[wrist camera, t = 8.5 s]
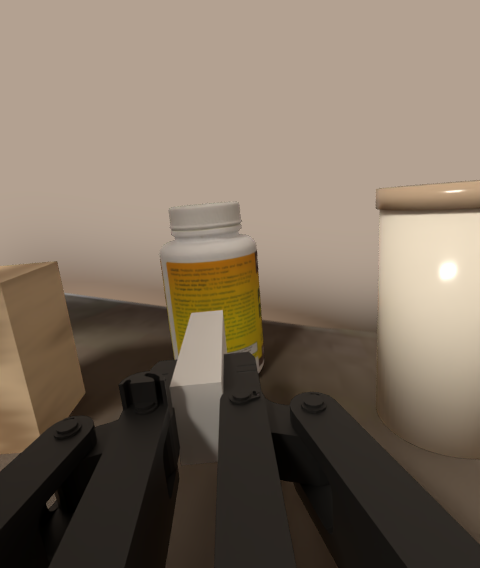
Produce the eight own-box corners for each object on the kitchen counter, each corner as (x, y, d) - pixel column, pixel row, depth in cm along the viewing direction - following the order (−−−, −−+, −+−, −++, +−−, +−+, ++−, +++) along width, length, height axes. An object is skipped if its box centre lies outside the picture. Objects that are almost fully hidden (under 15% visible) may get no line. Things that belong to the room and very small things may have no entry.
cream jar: (350, 420, 20) (349, 191, 17) (400, 370, 25) (407, 185, 22) (507, 488, 15) (549, 177, 12) (531, 408, 20) (566, 173, 17)
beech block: (-61, 459, 20) (-120, 293, 17) (4, 400, 26) (-33, 268, 23) (43, 450, 20) (-1, 283, 17) (85, 393, 26) (57, 261, 23)
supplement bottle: (282, 376, 26) (272, 199, 22) (191, 406, 23) (165, 209, 20) (242, 344, 32) (230, 201, 29) (167, 364, 29) (144, 208, 26)
